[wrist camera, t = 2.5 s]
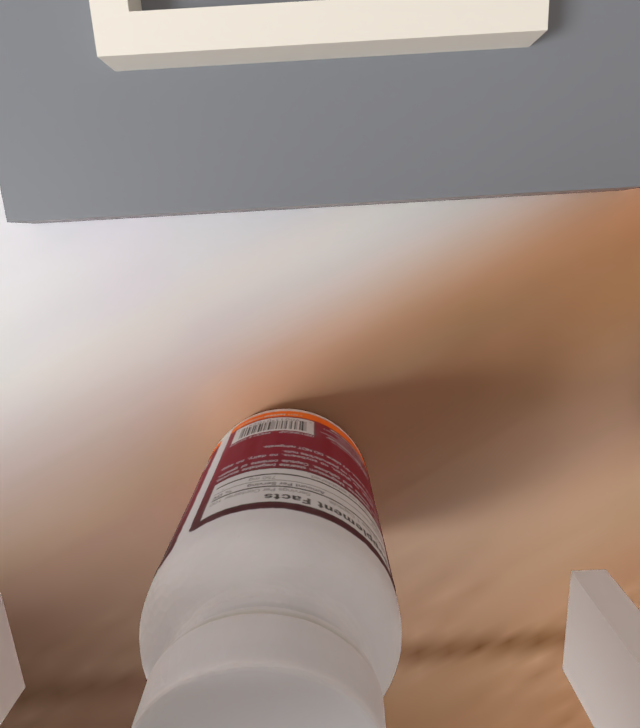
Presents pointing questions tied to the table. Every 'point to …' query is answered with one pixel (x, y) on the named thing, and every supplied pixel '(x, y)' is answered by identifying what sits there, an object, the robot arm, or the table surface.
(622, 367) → the table surface
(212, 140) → the locating plate
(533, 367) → the table surface
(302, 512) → the pill bottle
